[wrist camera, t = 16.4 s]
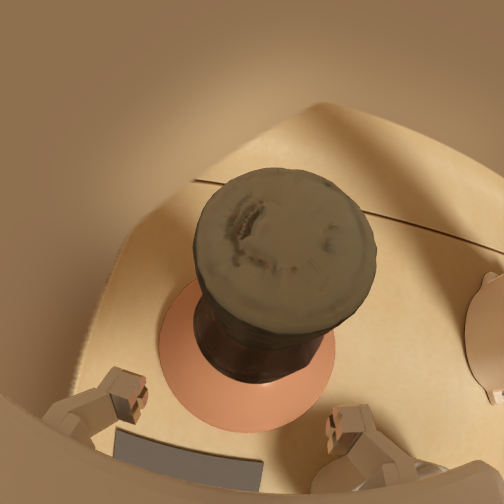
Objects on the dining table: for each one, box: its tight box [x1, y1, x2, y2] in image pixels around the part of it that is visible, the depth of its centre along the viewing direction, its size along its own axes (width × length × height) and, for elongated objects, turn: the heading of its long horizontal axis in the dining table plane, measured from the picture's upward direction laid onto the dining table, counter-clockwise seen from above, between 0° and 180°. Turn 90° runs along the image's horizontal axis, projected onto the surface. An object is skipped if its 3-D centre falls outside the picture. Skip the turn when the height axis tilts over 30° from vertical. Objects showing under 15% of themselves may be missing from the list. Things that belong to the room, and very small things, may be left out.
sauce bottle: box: [193, 168, 377, 384], centre depth 15 cm, size 7×6×20 cm
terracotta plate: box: [159, 278, 335, 433], centre depth 24 cm, size 16×16×1 cm
